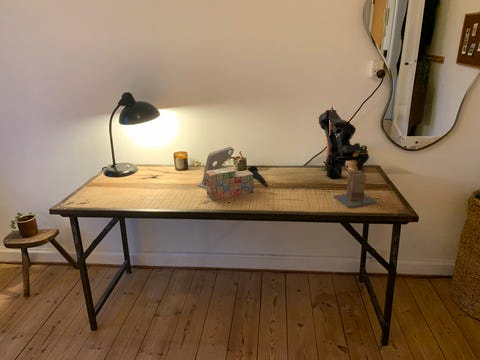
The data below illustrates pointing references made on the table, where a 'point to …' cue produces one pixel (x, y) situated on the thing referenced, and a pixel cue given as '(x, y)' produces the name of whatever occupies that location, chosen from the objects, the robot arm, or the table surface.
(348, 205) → the charcoal base plate
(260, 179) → the microphone
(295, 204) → the table surface
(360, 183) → the walnut block
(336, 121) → the robot arm
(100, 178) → the table surface
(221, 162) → the phone holder
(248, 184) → the stack of blocks
